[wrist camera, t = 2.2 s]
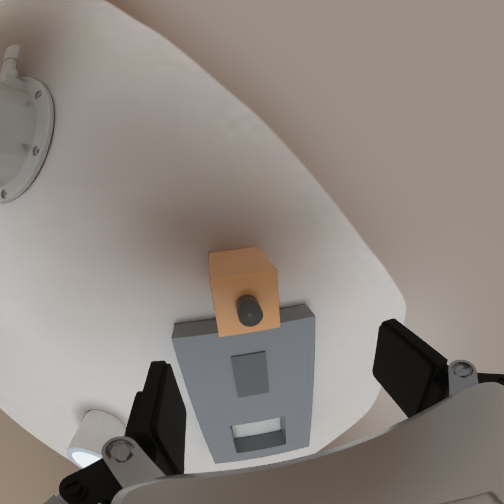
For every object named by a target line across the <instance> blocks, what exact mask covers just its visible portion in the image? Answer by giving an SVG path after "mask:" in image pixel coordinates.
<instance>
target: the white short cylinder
mask: <svg viewBox="0 0 504 504" xmlns="http://www.w3.org/2000/svg"><path fill="white" fill-rule="evenodd" d="M125 431H126V428H125V426H124V424H123V423H122V422H121V421H120V420H119V419H117V418H116V417H115V416H113V415H111V414H109V413H106V412H103V411H99V410H92V411H89V412H87V413H86V415H85V417H84V419H83V420H82V422H81V424H80V426H79V428H78V430H77V432H76V433H75V435H74V437H73V439H72V441H71V443H70V445H69V447H68V449H67V455H68V457H69V458H70V460H71V461H72V462H73V463H74V464H76V465H77V466H78V467H80V468H81V469H83V468H85V467H87V466H89V465H90V464H92V463H94V462H96V461H98V460H100V459H101V458H103V457H102V454H101V451H102V447H103V445H104V444H105V443H106V442H107V441H108V440H110V439H111V438H114V437H118V436H124V435H125Z"/></svg>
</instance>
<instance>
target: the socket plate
mask: <svg viewBox="0 0 504 504" xmlns="http://www.w3.org/2000/svg"><path fill="white" fill-rule="evenodd" d="M279 313H280V327H279V328H273V329H268V330H262V331H256V332H250V333H244V334H238V335H231V336H224V337H219V332H218V327H217V321H216V319H212V320H204V321H196V322H188V323H179V324H174V329H173V335H172V341H173V345H174V348H175V352H176V355H177V359H178V362H179V366H180V369H181V372H182V375H183V379H184V382H185V385H186V388H187V391H188V394H189V397H190V400H191V403H192V406H193V408H194V411H195V414H196V417H197V419H198V422H199V425H200V427H201V430H202V433H203V435H204V438H205V440H206V443H207V445H208V448H209V450H210V452H211V455H212V457H213V460H214V462H215V464H216V463H225V462H234V461H241V460H248V459H254V458H260V457H265V456H270V455H275V454H280V453H284V452H288V451H293V450H297V449H300V448H304V447H308V446H309V440H310V429H311V416H312V402H313V384H314V359H315V315H314V314H313V313H312V311H311V310H310V309H309V308H308V307H307V305H306V304H303V305H298V306H293V307H287V308H282V309H279ZM278 417H281V431H276V432H271V433H266V434H261V435H255V436H249V437H243V438H236V439H234V436H233V432H232V428H231V426H233V425H240V424H246V423H252V422H258V421H263V420H269V419H273V418H278Z"/></svg>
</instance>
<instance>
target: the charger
mask: <svg viewBox="0 0 504 504" xmlns="http://www.w3.org/2000/svg"><path fill="white" fill-rule="evenodd" d="M209 276H210V285H211V291H212V297H213V303H214V309H215V315H216V321H217V327H218V332H219V337H224V336H231V335H238V334H244V333H250V332H256V331H262V330H268V329H273V328H279V327H280V313H279V297H278V282H277V269H276V268H275V267H274V266H273V265H272V264H271V262H270V261H269V260H268V259H267V258H266V256H265V255H264V254H263V253H262V252H261V251H260V249H259V248H258V247H257V246H256V247H248V248H241V249H233V250H226V251H218V252H211V253H209Z"/></svg>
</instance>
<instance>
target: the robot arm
mask: <svg viewBox="0 0 504 504" xmlns="http://www.w3.org/2000/svg"><path fill="white" fill-rule="evenodd" d="M20 51H21V46H20V45H19V44H12V45H10V46H8V47H7V48H6V49H5V53H4V57H3V61H2V68H1V71H0V203H6V202H9V201H12V200H14V199H16V198H17V197H19V196H20V195H21V194H22V193H23V192H24V191H25V190H26V189H27V188H28V187H29V186H30V184H31V183H32V182H33V180H34V179H35V177H36V175H37V174H38V172H39V170H40V168H41V166H42V164H43V161H44V159H45V157H46V154H47V151H48V148H49V145H50V141H51V136H52V131H53V121H54V110H53V103H52V98H51V95H50V93H49V91H48V89H47V88H46V87H45V85H44V84H43V83H41V82H40V81H38V80H36V79H34V78H31V77H20V78H17V76H18V71H17V70H16V64H17V62H18V59H19V55H20ZM373 375H374V377H375V378H376V379H377V381H378V382H379V383H380V384H381V385H382V387H383V388H384V389H385V390H386V391H387V392H388V394H389V395H390V396H391V397H392V399H393V400H394V401H395V402H396V403H397V405H398V406H399V407H400V408H401V409H402V411H403V412H404V413H405V414H406V415H407V417H408V419H406V420H404V421H402V422H400V423H397V424H395V425H393V426H391V427H389V428H386V429H384V430H382V431H379V432H377V433H374V434H372V435H369V436H367V437H364V438H362V439H359V440H356V441H353V442H351V443H348V444H345V445H342V446H339V447H336V448H333V449H329V450H326V451H323V452H319V453H316V454H312V455H308V456H304V457H300V458H296V459H292V460H288V461H283V462H278V463H273V464H268V465H262V466H256V467H249V468H242V469H235V470H226V471H216V472H204V473H192V474H184V453H185V431H186V408H185V405H184V402H183V400H182V397H181V394H180V391H179V388H178V385H177V382H176V379H175V376H174V373H173V370H172V367H171V365H170V364H166V362H165V361H152V362H151V365H150V368H149V371H148V375H147V378H146V382H145V385H144V389H143V391H138V392H137V393H136V396H135V399H134V403H133V406H132V410H131V413H130V417H129V420H128V424H127V427H126V431H125V435H124V436H118V437H114V438H111V439H110V440H108V441H107V442H106V443H105V444H104V445H103V447H102V451H101V454H102V457H103V458H101V459H100V460H98V461H96V462H94V463H92V464H90V465H89V466H87V467H85V468H83V469H81V470H79V471H77V472H75V473H73V474H71V475H69V476H67V477H66V478H64V479H63V480H62V482H61V483H60V486H59V492H60V494H59V495H58V496H57V497H56V496H55V495H53V496H52V497H51V498H50V499H49V500H48V501H46V502H45V503H44V504H504V375H503V374H486V373H477V372H476V368H475V366H474V365H473V364H472V363H470V362H469V361H465V360H456V361H453V362H452V363H450V365H449V366H448V365H447V359H446V358H444V357H443V356H442V355H441V354H440V353H438V352H437V351H436V350H434V349H433V348H432V347H431V346H429V345H428V344H427V343H426V342H424V341H423V340H422V339H420V338H419V337H418V336H416V335H415V334H414V333H413V332H411V331H410V330H409V329H407V328H406V327H405V326H404V325H402V324H401V323H400V322H398V321H397V320H396V319H390V320H387V321H384V322H382V325H381V326H380V327H379V332H378V340H377V347H376V353H375V359H374V365H373Z"/></svg>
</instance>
